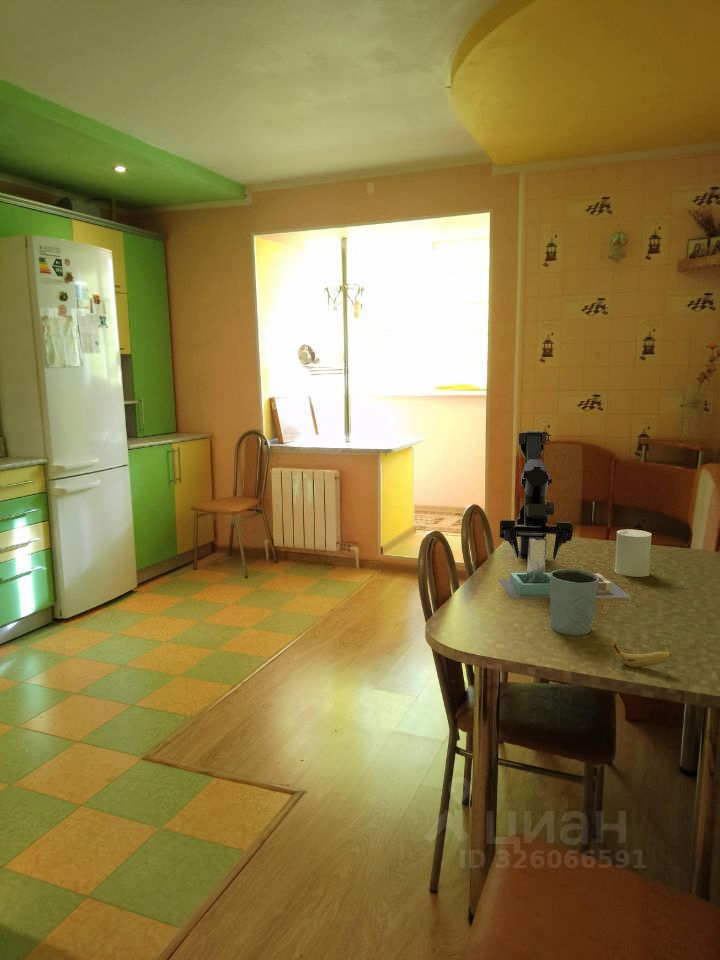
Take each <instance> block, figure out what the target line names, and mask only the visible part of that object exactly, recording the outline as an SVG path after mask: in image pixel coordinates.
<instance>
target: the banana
mask: <svg viewBox="0 0 720 960" xmlns="http://www.w3.org/2000/svg"><path fill="white" fill-rule="evenodd" d="M613 648H614V649H615V651H616V652H617V654H618V655H617V656H618V660H619V661H620V662H621V663H622V664H623V665H626V666H628V667H632V668H633V667H634V668H637V667H638V668H644V667H651V666H654V665H655V666H656V665H659V664H662V663H664V662H666V661H668V660H669V659H670V658H671V657H672V652H669V651H663V650H662V651H661V650H660V651H655V652H648V653H640V654H639V653H638V654H632V653H626V652H623V651H621V650H620V649H619V648H618V647H617V643H616V642H615V644H613Z"/></svg>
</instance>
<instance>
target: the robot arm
mask: <svg viewBox="0 0 720 960" xmlns="http://www.w3.org/2000/svg"><path fill="white" fill-rule="evenodd" d="M547 435H548V434H547V433H545V432H543V431H542V430H541V431H540V430H522V432H519V433H518V436H517V437H518V439H517V445H518V446H519V448H520V449H519V452H520V454H521V456H522V457H523V459H524V464H523V470H522V472H521V473H520V486H522V488H523V489H524V495H523V496H524V497H523V499H524V502H523V503H524V504H523V505H522V507H521V509H520V510H519V513H518V517H516V520H515V519H501V520H500V521H499V534H498V535H499V538H501V539H503V540H504V541H505V542H508V544H509V545H510V547H511V548H512V550H513V552H514V555H515V557H516V558H517V559H519V557H520V558H521V559H528V548H529V538H531V537H540V538H546V537H547V535H555V537H554V539H555V540H554V544H553V545H554V546H553V553H552V559H553V561H555V560H556V558H557V556H558V554H559V553H558V552H559V550H560V548H561V546H562V545H563V544H566V543H567V542H570V541H572V537H573V534H574V524H573V523H572V522H571V521H558V520H557V521H556V525H555V526H552V525H551V526H548V516H554V514H555V502H552V501H550V502H549V501H548V502H547V499H546V497H547V492H548V486H551V484H553V478H552V477H551V475H550V472H548V473H547V470H548V469H547V465H546V464H544V463H543V462H542V454H543V453H544V448H545V447H547ZM518 538H520V540H519V541H520V543H519V545H518Z"/></svg>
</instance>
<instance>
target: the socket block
mask: <svg viewBox="0 0 720 960" xmlns="http://www.w3.org/2000/svg"><path fill="white" fill-rule="evenodd" d="M592 574H594V575H596V576H597V577H598V578H599V582H598V588H597V593H611V583H610V582H609V581H608V580H607V579H605V578H606V577H604V576H603V575H602V574H601V573H596V572H595V573H592Z"/></svg>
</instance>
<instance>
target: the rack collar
mask: <svg viewBox="0 0 720 960" xmlns="http://www.w3.org/2000/svg"><path fill="white" fill-rule="evenodd" d="M550 573H551V572H545V574H544V583H526V582H527V572H510V578H509V579H510V582H511V584H512V585H513V586H514V588H515V589H516V590H517V592H518V593H519V594H520V595H523V594H550V593H551V590H550ZM524 583H526V584H524Z"/></svg>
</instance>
